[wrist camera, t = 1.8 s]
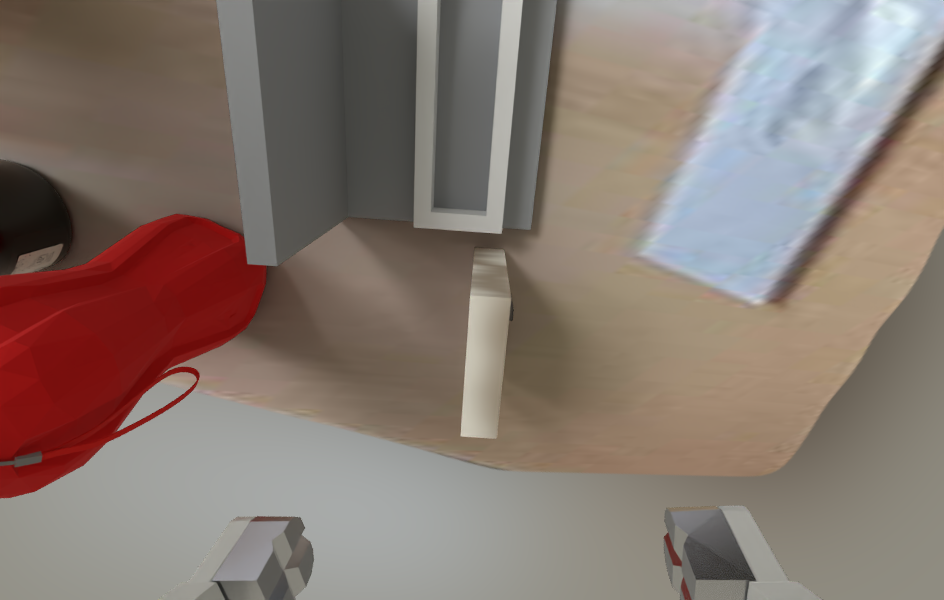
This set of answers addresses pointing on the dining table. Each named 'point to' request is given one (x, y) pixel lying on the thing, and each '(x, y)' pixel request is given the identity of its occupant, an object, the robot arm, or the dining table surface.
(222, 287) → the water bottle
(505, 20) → the grey tablet stand
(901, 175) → the dining table surface
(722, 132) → the dining table surface
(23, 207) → the ink bottle
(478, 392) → the door panel
